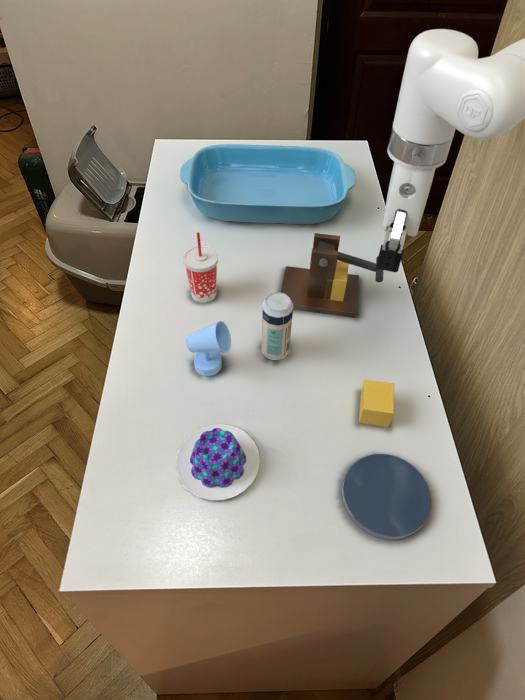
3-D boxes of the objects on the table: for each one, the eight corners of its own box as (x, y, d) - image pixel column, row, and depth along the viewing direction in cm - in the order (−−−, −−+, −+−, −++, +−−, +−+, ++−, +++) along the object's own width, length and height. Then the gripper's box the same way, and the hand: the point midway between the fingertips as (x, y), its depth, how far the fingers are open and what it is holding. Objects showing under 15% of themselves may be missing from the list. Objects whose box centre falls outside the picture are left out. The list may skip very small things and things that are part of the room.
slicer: (358, 279, 101) (369, 230, 92) (355, 317, 95) (366, 268, 86) (285, 270, 102) (289, 220, 93) (278, 307, 96) (280, 258, 87)
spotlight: (233, 356, 89) (193, 351, 89) (232, 315, 81) (187, 311, 82) (229, 379, 86) (187, 375, 86) (227, 340, 78) (181, 335, 78)
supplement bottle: (282, 336, 92) (286, 287, 82) (293, 357, 89) (298, 308, 80) (257, 344, 91) (257, 294, 81) (267, 365, 88) (269, 316, 78)
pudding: (232, 518, 72) (230, 502, 67) (159, 477, 75) (154, 460, 71) (274, 448, 78) (275, 430, 74) (206, 414, 82) (203, 395, 78)
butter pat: (389, 397, 84) (394, 383, 81) (388, 427, 81) (393, 413, 78) (360, 393, 85) (364, 379, 81) (358, 423, 81) (363, 409, 78)
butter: (344, 282, 99) (348, 262, 95) (343, 301, 96) (346, 281, 92) (326, 280, 99) (329, 259, 95) (323, 298, 96) (326, 278, 92)
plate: (427, 464, 77) (429, 460, 76) (430, 546, 70) (432, 543, 69) (345, 451, 78) (346, 447, 77) (338, 531, 71) (340, 528, 70)
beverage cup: (227, 290, 99) (224, 230, 88) (206, 310, 95) (201, 250, 84) (201, 277, 101) (195, 217, 90) (180, 296, 97) (171, 236, 86)
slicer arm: (380, 264, 94) (386, 254, 92) (380, 285, 91) (385, 276, 89) (316, 244, 93) (321, 234, 91) (313, 265, 90) (317, 255, 88)
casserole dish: (346, 173, 123) (351, 144, 118) (356, 234, 109) (362, 205, 104) (188, 169, 123) (185, 141, 118) (177, 230, 109) (173, 201, 104)
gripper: (443, 186, 61) (409, 292, 74) (455, 115, 72) (423, 219, 85) (378, 174, 62) (356, 280, 76) (399, 106, 73) (377, 210, 86)
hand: (391, 248), depth 80 cm, fingers open, 9 cm apart
